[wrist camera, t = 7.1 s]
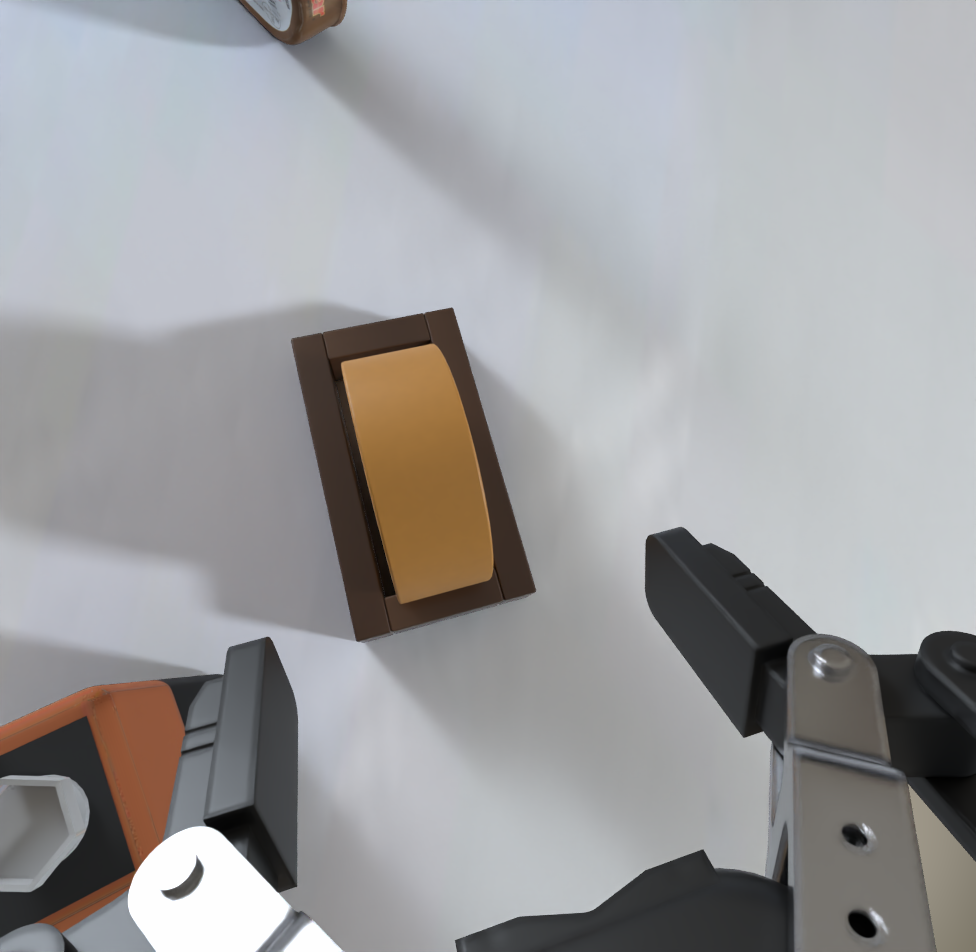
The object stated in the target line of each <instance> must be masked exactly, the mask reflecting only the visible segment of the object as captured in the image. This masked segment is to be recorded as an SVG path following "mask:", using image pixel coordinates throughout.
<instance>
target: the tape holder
mask: <svg viewBox="0 0 976 952" xmlns="http://www.w3.org/2000/svg"><path fill="white" fill-rule="evenodd" d="M291 343H292V348H293V352H294V357H295V361H296V366H297V371H298V375H299V380H300V384H301V389H302V394H303V398H304V403H305V407H306V412H307V417H308V421H309V426H310V430H311V435H312V440H313V444H314V449H315V453H316V458H317V463H318V467H319V472H320V476H321V481H322V486H323V490H324V495H325V499H326V504H327V509H328V513H329V518H330V523H331V527H332V532H333V536H334V541H335V546H336V550H337V555H338V559H339V564H340V569H341V573H342V578H343V582H344V587H345V592H346V596H347V601H348V605H349V610H350V615H351V619H352V624H353V628H354V633H355V638H356V641H357V642H362V643H365V642H368V641H372V640H376V639H379V638H383V637H386V636H390V635H393V633H395V634H397V633H401V632H404V631H408V630H411V629H415V628H418V627H422V626H426V625H429V624H433V623H436V622H440V621H443V620H447V619H451V618H454V617H458V616H461V615H465V614H468V613H472V612H476V611H479V610H483V609H486V608H490V607H493V606H497V605H498V604H499V605H501V604H504V603H508V602H511V601H515V600H518V599H522V598H526V597H528V596H530V595H531V594H533V593H535V592H536V588H535V585H534V581H533V578H532V574H531V571H530V568H529V564H528V561H527V557H526V554H525V551H524V547H523V544H522V540H521V537H520V534H519V530H518V527H517V523H516V520H515V517H514V513H513V510H512V506H511V503H510V500H509V496H508V493H507V489H506V486H505V483H504V479H503V476H502V472H501V469H500V466H499V462H498V459H497V455H496V452H495V449H494V445H493V442H492V439H491V435H490V432H489V428H488V425H487V422H486V418H485V415H484V411H483V408H482V405H481V401H480V398H479V394H478V391H477V388H476V384H475V381H474V377H473V374H472V371H471V367H470V364H469V360H468V357H467V354H466V350H465V347H464V343H463V340H462V337H461V333H460V330H459V326H458V323H457V320H456V316H455V313H454V309H453V308H447V309H442V310H437V311H432V312H426V313H424V314H423V313H421V314H416V315H411V316H406V317H401V318H395V319H390V320H385V321H380V322H375V323H369V324H364V325H359V326H354V327H349V328H344V329H338V330H333V331H328V332H324V333H323V335H322V333H318V334H313V335H308V336H303V337H297V338H292V339H291ZM428 344H435V345H436V346H437V347H438V348H439V349H440V351H441V352H442V354H443V356H444V358H445V360H446V362H447V364H448V366H449V368H450V371H451V373H452V376H453V378H454V381H455V384H456V387H457V390H458V393H459V396H460V399H461V402H462V405H463V408H464V412H465V415H466V418H467V422H468V425H469V429H470V433H471V436H472V440H473V444H474V448H475V452H476V456H477V460H478V465H479V469H480V474H481V478H482V483H483V488H484V493H485V498H486V503H487V509H488V515H489V521H490V528H491V536H492V545H493V573H492V577H491V579H490V580H488V581H485V582H481V583H477V584H474V585H470V586H466V587H463V588H459V589H455V590H452V591H448V592H444V593H441V594H437V595H433V596H430V597H426V598H422V599H419V600H415V601H411V602H408V603H404V604H400V603H399V601H398V599H397V595H392V596H389V597H385V592H384V588H383V584H382V580H381V575H380V571H379V567H378V562H377V558H376V554H375V550H374V545H373V541H372V537H371V532H370V528H369V524H368V520H367V515H366V511H365V507H364V502H363V498H362V494H361V489H360V485H359V481H358V477H357V472H356V468H355V464H354V459H353V455H352V451H351V447H350V442H349V438H348V434H347V429H346V425H345V421H344V416H343V412H342V408H341V404H340V399H339V395H338V391H337V386H336V382H335V380H336V381H339V380H344V379H343V374H342V369H341V363H342V362H344V361H349V360H354V359H359V358H364V357H369V356H374V355H379V354H384V353H389V352H394V351H399V350H404V349H409V348H413V347H418V346H423V345H428Z"/></svg>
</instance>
